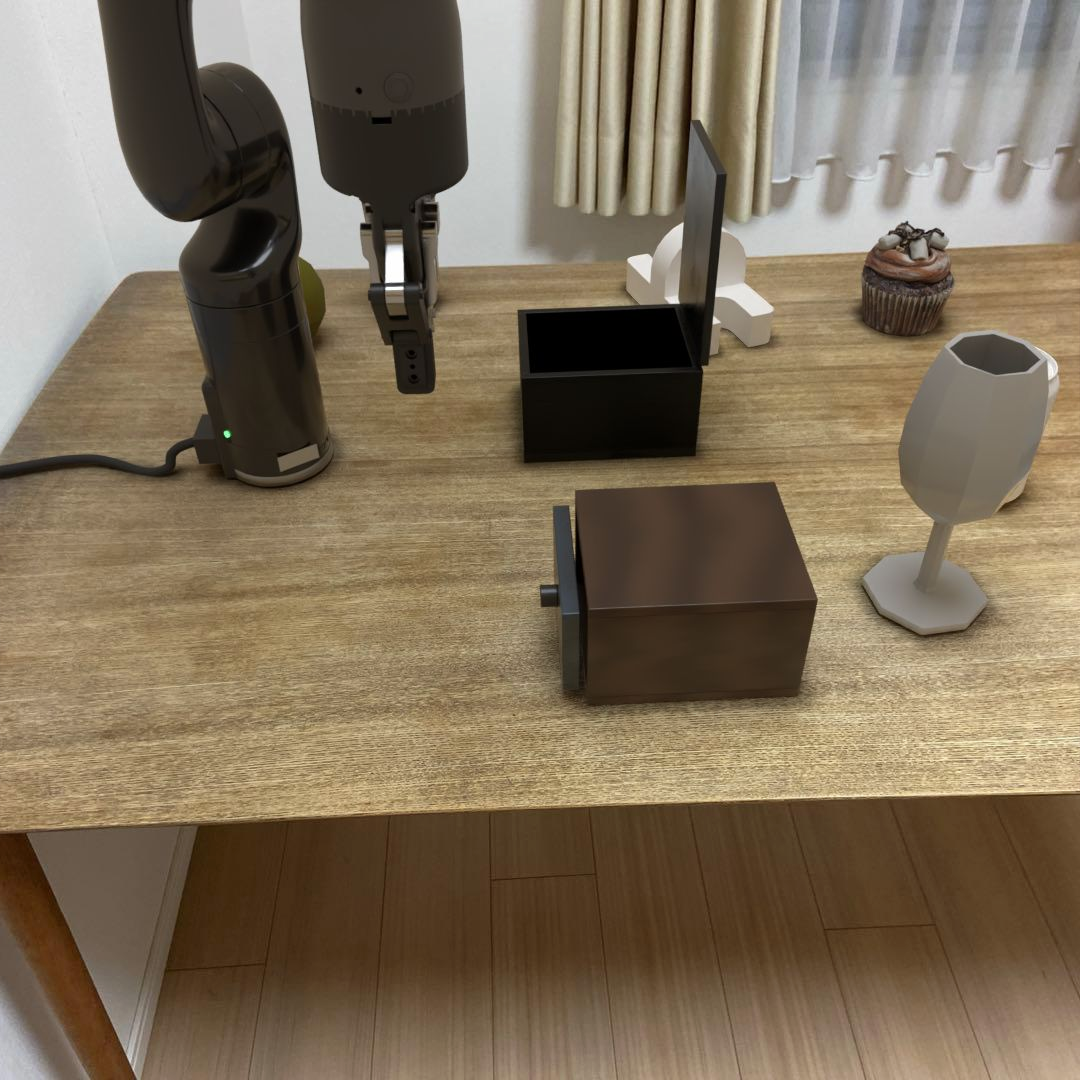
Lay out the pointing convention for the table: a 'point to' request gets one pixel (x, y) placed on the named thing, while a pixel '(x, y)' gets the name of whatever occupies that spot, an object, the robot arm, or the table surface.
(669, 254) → the white slotted bracket
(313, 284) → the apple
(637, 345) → the metal box
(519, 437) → the table surface
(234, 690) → the table surface
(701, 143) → the lid
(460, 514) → the table surface
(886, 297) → the cupcake
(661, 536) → the drawer cabinet
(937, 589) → the wineglass
